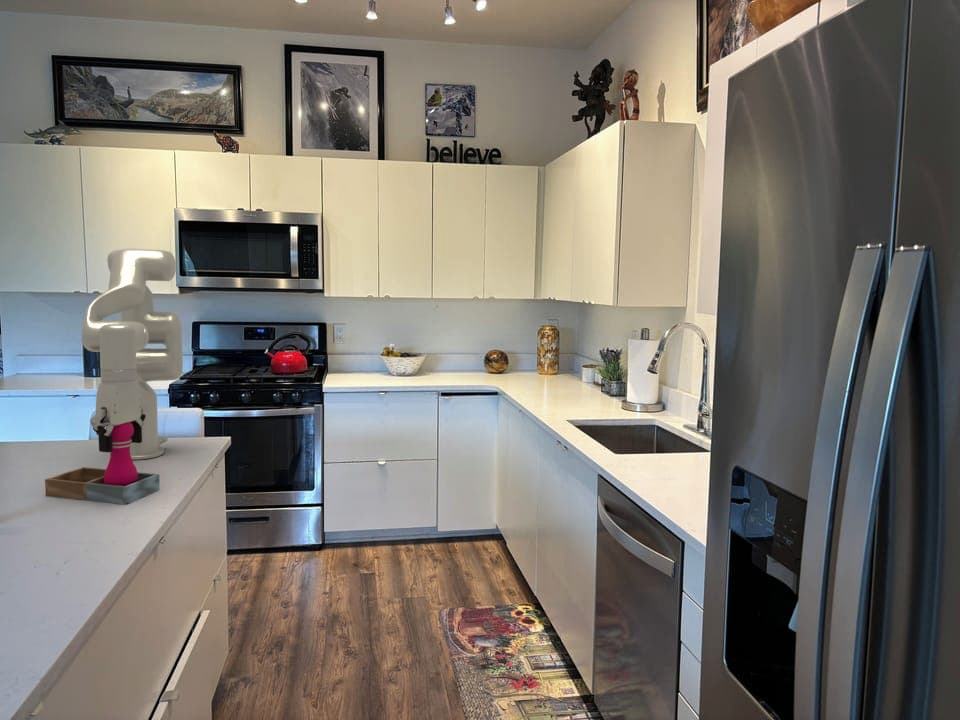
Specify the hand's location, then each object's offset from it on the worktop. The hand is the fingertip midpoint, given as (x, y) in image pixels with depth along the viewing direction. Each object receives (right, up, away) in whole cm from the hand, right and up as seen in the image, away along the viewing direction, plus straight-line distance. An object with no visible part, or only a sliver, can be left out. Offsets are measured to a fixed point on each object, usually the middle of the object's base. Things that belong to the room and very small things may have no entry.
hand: (121, 447), depth 159 cm
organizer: (-6, -12, +2) cm, 13 cm away
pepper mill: (-1, -12, +1) cm, 12 cm away
